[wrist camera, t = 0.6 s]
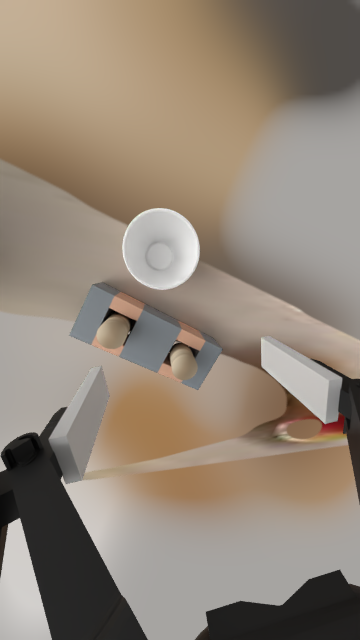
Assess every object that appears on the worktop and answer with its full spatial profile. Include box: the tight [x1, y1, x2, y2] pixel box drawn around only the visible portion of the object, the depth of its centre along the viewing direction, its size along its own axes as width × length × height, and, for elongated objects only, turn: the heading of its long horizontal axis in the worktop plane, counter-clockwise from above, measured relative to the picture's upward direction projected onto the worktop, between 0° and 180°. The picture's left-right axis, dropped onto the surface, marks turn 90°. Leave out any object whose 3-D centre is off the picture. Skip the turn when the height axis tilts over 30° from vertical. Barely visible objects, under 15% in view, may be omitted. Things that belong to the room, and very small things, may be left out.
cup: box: [122, 208, 200, 290], centre depth 30 cm, size 10×10×11 cm
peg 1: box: [96, 313, 131, 349], centre depth 31 cm, size 4×4×6 cm
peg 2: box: [169, 343, 198, 380], centre depth 33 cm, size 4×4×6 cm
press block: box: [70, 282, 223, 390], centre depth 36 cm, size 24×9×6 cm, turn 61°
